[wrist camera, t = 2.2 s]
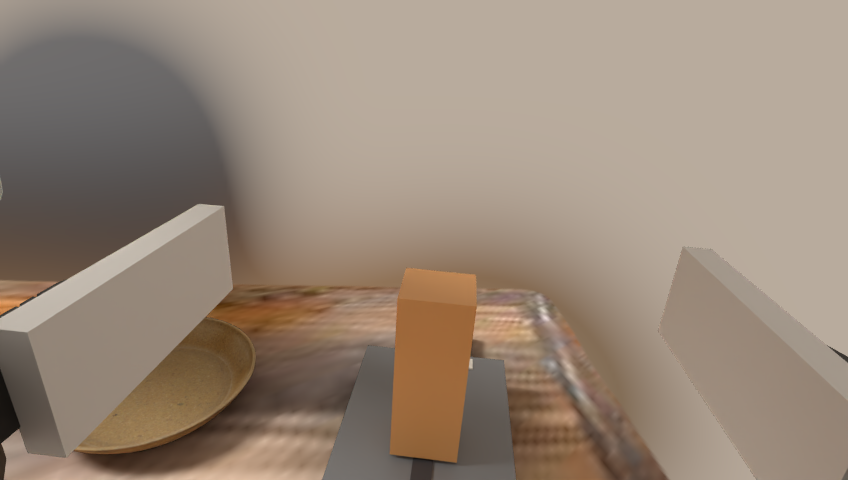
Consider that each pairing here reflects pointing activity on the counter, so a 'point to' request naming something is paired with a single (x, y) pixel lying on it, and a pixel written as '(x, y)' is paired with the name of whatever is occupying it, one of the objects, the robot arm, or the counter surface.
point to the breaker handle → (431, 363)
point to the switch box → (408, 476)
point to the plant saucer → (179, 391)
